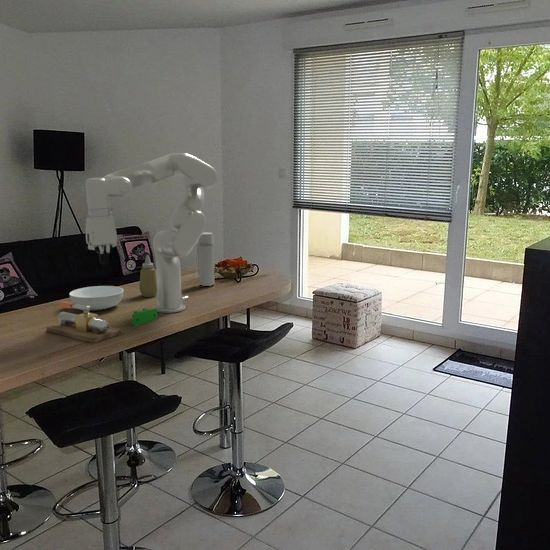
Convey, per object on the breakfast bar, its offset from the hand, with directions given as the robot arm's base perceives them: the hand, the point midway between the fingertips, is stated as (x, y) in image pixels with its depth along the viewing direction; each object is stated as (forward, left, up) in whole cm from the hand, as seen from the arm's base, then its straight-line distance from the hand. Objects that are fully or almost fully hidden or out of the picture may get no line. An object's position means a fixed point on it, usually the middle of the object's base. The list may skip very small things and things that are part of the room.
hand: (104, 263), depth 209 cm
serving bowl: (-12, -20, -22) cm, 32 cm away
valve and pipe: (+14, +3, -20) cm, 25 cm away
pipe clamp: (-7, +11, -22) cm, 26 cm away
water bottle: (-68, -10, -22) cm, 72 cm away
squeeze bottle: (-38, -17, -22) cm, 47 cm away
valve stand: (+14, +3, -22) cm, 26 cm away
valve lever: (+14, 0, -15) cm, 20 cm away
